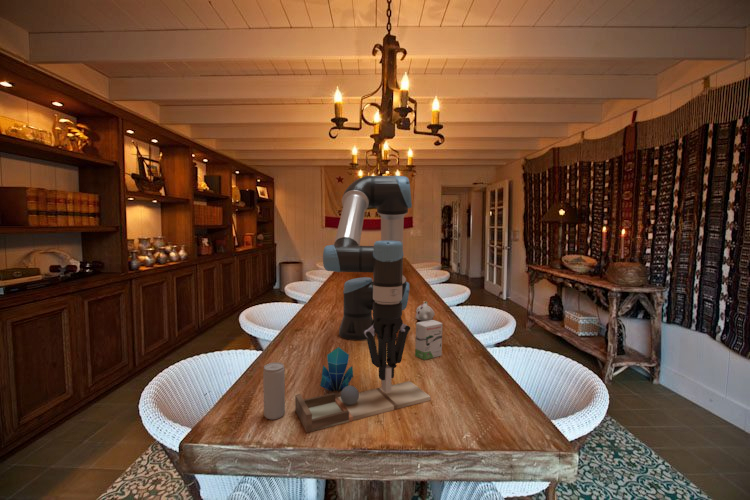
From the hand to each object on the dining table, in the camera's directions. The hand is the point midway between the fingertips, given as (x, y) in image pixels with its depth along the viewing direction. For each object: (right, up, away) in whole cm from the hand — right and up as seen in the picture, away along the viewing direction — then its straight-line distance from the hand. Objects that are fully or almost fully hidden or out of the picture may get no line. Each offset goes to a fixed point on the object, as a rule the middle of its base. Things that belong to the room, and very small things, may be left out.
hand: (386, 390), depth 91 cm
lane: (-5, -3, -3) cm, 7 cm away
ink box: (+16, -1, +31) cm, 35 cm away
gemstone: (-13, -2, +4) cm, 14 cm away
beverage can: (-27, -3, -7) cm, 28 cm away
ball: (-9, 0, -4) cm, 10 cm away
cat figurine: (+21, +3, +75) cm, 78 cm away
